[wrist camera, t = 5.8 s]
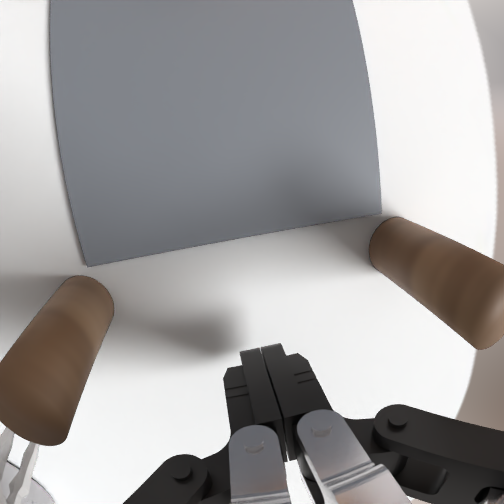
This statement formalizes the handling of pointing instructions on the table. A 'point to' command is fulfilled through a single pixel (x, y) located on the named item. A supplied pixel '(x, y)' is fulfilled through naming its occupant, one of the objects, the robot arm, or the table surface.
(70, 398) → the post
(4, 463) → the human figurine
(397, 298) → the table surface
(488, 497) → the robot arm
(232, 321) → the table surface
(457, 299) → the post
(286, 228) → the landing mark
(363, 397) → the table surface
